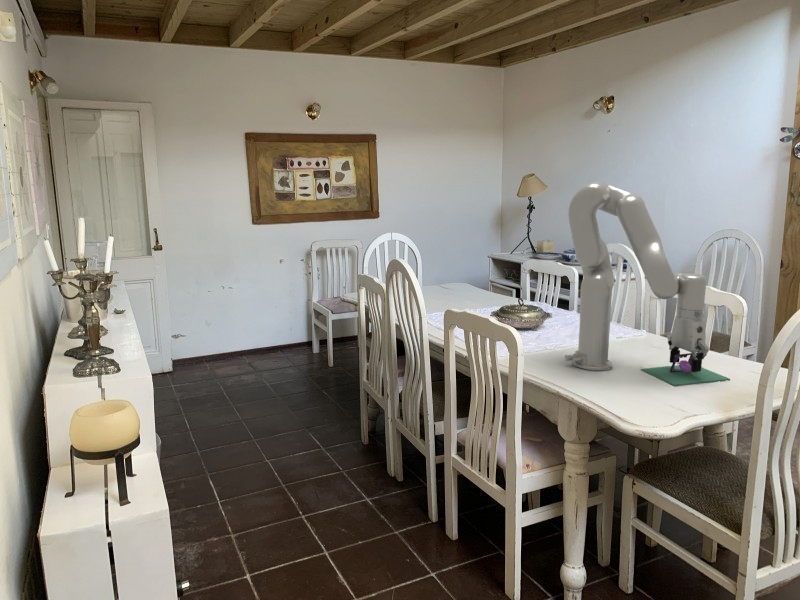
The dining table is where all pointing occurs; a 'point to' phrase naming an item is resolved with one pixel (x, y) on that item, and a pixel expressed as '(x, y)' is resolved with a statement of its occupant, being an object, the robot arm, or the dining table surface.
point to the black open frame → (683, 363)
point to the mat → (684, 376)
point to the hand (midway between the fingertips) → (684, 366)
